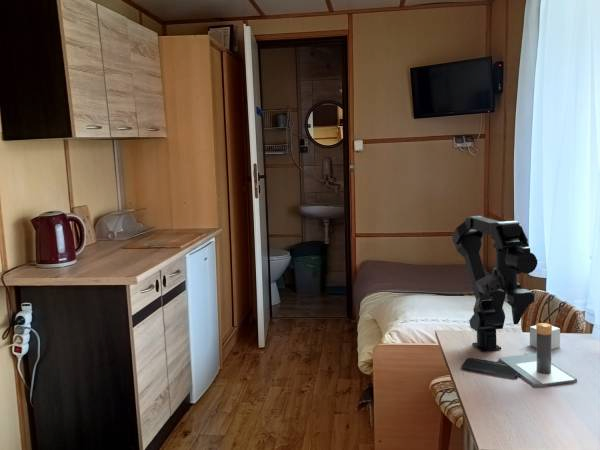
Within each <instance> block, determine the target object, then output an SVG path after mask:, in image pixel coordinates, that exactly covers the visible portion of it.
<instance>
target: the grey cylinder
mask: <svg viewBox="0 0 600 450" xmlns="http://www.w3.org/2000/svg"><path fill="white" fill-rule="evenodd" d="M552 326H553V325H552V324H549V323H546V322H540V323H536V332H537V348H536V353H537V372H538V373H541V374H550V373H551V362H552V350H551V334H552Z"/></svg>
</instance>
